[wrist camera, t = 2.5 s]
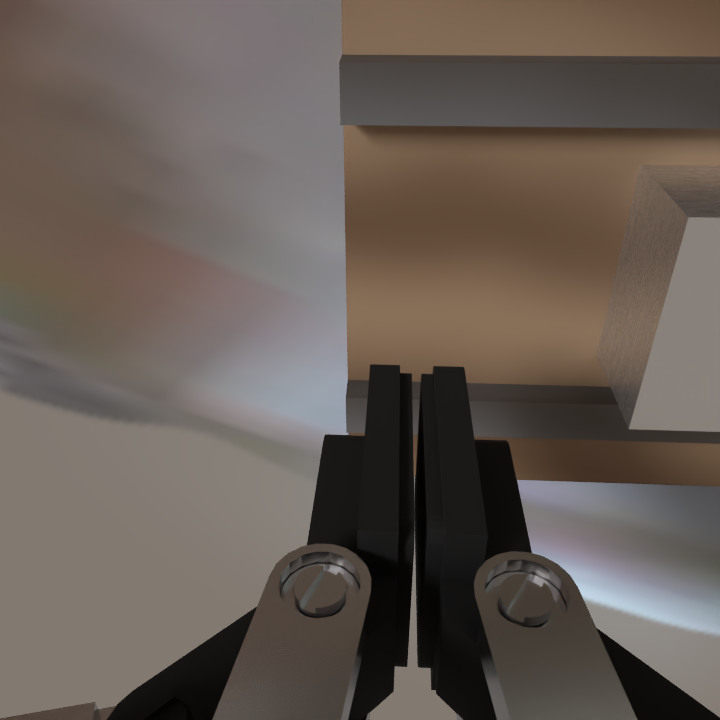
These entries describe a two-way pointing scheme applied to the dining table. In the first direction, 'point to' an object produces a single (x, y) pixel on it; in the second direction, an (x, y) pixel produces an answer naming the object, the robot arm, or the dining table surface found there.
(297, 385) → the dining table surface
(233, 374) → the dining table surface
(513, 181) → the slot board
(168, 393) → the dining table surface
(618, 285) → the chip
